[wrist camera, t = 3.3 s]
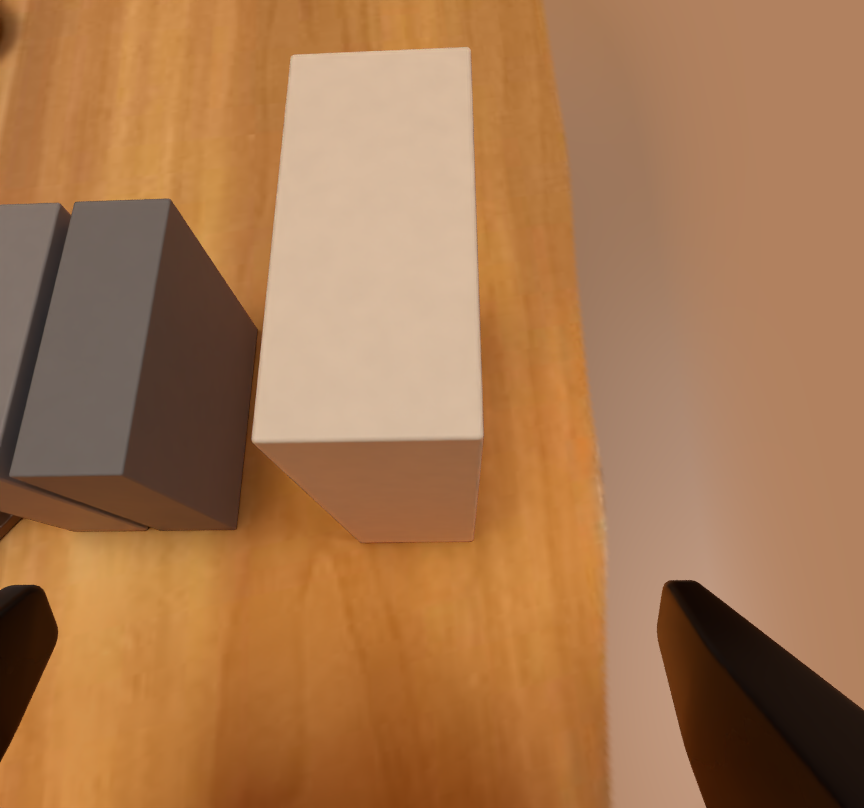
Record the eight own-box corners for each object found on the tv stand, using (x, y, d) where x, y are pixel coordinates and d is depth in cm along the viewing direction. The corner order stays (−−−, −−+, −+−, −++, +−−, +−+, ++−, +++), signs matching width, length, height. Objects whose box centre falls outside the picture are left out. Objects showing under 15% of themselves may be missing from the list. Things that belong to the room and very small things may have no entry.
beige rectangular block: (467, 312, 25) (470, 45, 14) (473, 542, 22) (484, 438, 10) (367, 315, 25) (289, 52, 14) (359, 543, 22) (249, 442, 11)
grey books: (258, 329, 25) (171, 197, 18) (237, 530, 22) (122, 475, 15) (112, 332, 25) (-36, 204, 18) (72, 531, 23) (-122, 478, 15)
